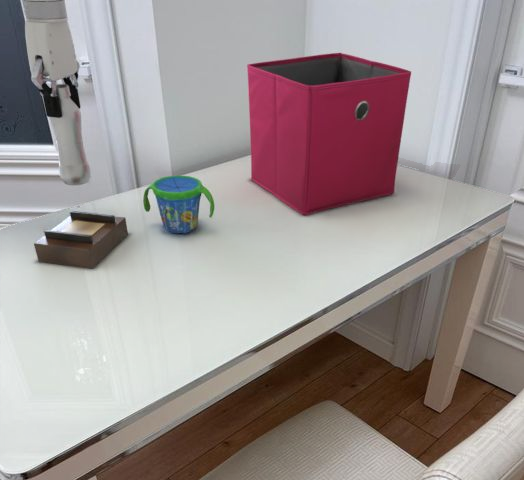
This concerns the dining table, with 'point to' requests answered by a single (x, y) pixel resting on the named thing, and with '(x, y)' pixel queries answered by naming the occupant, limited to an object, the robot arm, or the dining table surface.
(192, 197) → the snack cup
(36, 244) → the brown wooden base
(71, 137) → the silver metal bottle
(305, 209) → the storage bin
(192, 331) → the dining table surface
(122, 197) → the dining table surface
